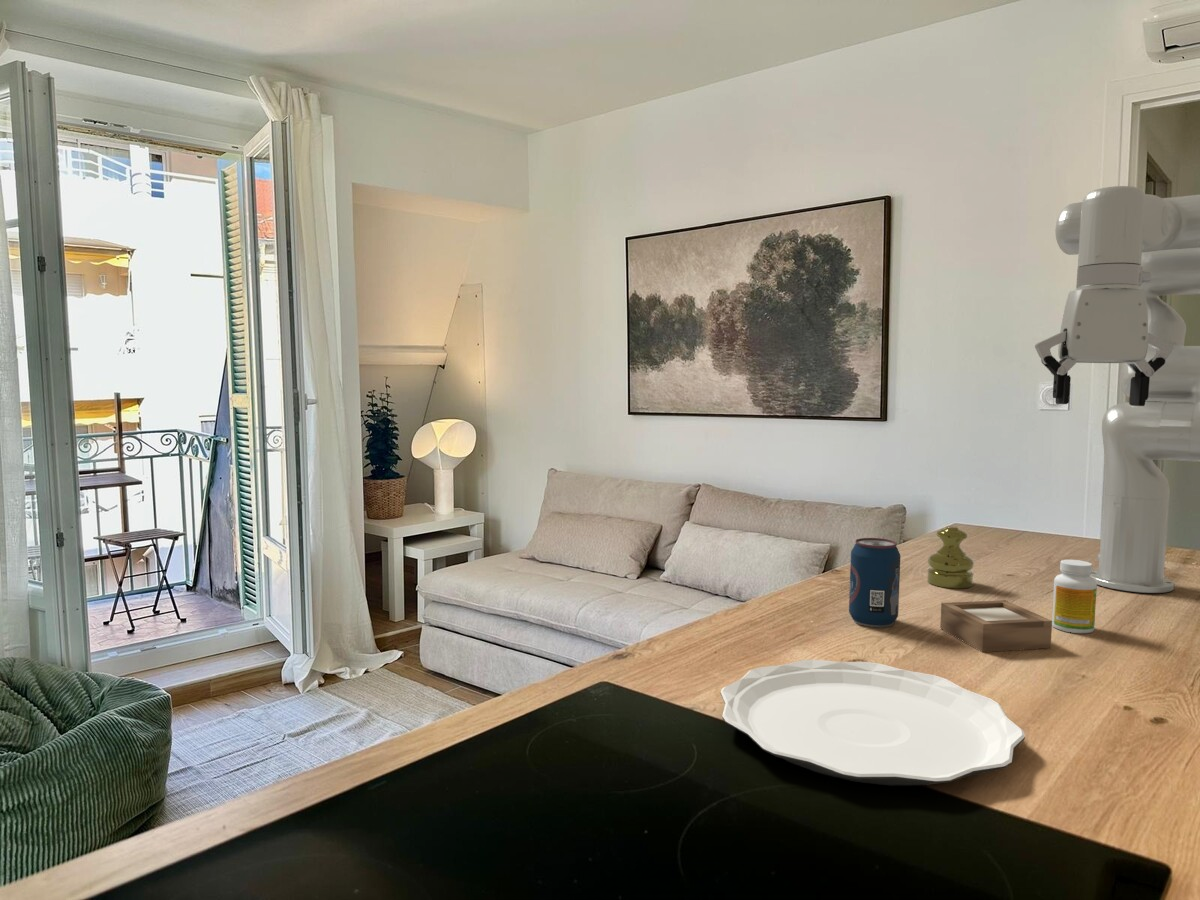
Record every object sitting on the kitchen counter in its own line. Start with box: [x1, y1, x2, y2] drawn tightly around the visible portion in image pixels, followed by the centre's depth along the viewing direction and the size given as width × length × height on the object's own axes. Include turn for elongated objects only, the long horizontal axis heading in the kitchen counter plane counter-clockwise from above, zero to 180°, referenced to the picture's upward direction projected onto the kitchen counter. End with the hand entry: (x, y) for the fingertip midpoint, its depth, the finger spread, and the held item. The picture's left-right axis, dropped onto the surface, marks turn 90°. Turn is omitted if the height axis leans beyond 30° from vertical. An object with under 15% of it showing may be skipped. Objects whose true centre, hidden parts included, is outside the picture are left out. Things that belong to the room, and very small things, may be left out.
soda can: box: [848, 537, 901, 628], centre depth 124 cm, size 7×7×12 cm
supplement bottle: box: [1051, 559, 1098, 634], centre depth 121 cm, size 5×5×10 cm
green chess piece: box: [926, 525, 975, 590], centre depth 146 cm, size 7×7×10 cm
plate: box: [720, 659, 1026, 787], centre depth 88 cm, size 29×29×2 cm
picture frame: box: [939, 599, 1053, 653], centre depth 117 cm, size 10×10×4 cm
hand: (1099, 404), depth 117 cm, fingers open, 9 cm apart
